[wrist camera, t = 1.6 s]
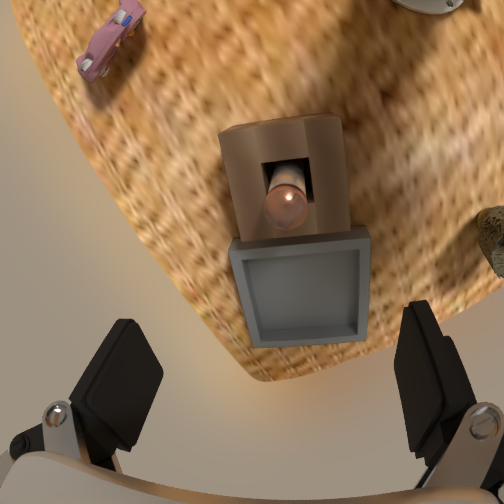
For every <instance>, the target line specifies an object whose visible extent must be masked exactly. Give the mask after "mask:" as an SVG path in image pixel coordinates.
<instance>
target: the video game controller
mask: <svg viewBox="0 0 504 504" xmlns="http://www.w3.org/2000/svg"><path fill="white" fill-rule="evenodd" d="M119 3H120V7H119V8H118V9H117V11H116V12H115V13H114V14H113V15H112V16H111V17H110V18H109V19H108V21H107V22H106V23H105V24H104V25H103V26H102V27H101V28H100V29H98V30H97V31H96V32H95V33H94V35H93V36H92V38H91V40H90V42H89V46H88V49H87V51H86V52H85V54H84V55H81V56H79V57H78V58H77V61H76V63H77V67H78V72H79V74H80V75H81V76H82V77H84V78H85V80H87V81H89V82H91V83H93V82H94V81H95V80H96V78H98V77H99V76H100V75H102V74H103V76H102V77H104V76H105V75H107V73H108V72H109V68H110V67H109V68H108V69H107V70H106V68H107V63H108V62H109V61H110V60H111V58H112V57H113V56H114V54H115V53H116V51H117V50H118V48H119V47H118V46H116V43H117V42H118V41H119V39H120V38H121V39H122V40H125V39H126V38H127V37H128V36H132V35H133V34H134V32H135V31H134V28H135V27H136V26H137V25H138V24H139V22H140V21H141V18H142V17H143V16H144V14H145V13H146V11H145V10H144V9H143V7H142V6H141V4H140V3H139V2H138V1H137V0H119Z"/></svg>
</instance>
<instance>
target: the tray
mask: <svg viewBox="0 0 504 504" xmlns="http://www.w3.org/2000/svg"><path fill="white" fill-rule="evenodd" d="M228 253H229V257H230V261H231V265H232V269H233V272H234V276H235V280H236V284H237V288H238V292H239V296H240V299H241V303H242V307H243V311H244V315H245V318H246V322H247V326H248V330H249V333H250V337H251V341H252V344H253V348H270V347H292V346H309V345H323V344H335V343H346V342H356V341H365V340H366V336H367V324H368V310H369V292H370V264H371V237H370V235H369V232H368V230H367V228H366V226H365V225H362V226H351V231H343V232H333V233H322V234H312V235H302V236H292V237H281V238H271V239H262V240H252V241H241V238H233V240H232V243H231V245H230V248H229V250H228Z"/></svg>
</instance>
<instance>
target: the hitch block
mask: <svg viewBox="0 0 504 504" xmlns="http://www.w3.org/2000/svg"><path fill="white" fill-rule="evenodd" d="M218 137H219V142H220V146H221V151H222V155H223V160H224V165H225V169H226V174H227V178H228V183H229V187H230V192H231V196H232V201H233V205H234V210H235V214H236V219H237V223H238V228H239V232H240V237H241V241H252V240H262V239H271V238H281V237H292V236H302V235H312V234H322V233H333V232H343V231H351V225H350V206H349V191H348V178H347V167H346V156H345V147H344V138H343V129H342V122H341V117H339V116H337V115H335V114H334V113H322V114H312V115H303V116H295V117H287V118H279V119H272V120H265V121H259V122H253V123H247V124H241V125H236V126H232V127H230V128H228V129H226V130H225V131H223V132H221V133H220V134H218ZM305 157H308V159H309V166H310V174H311V182H308V183H305V189H306V198H307V204H308V213H307V217H306V219H305V221H304V222H303V223H302V224H301V225H300V226H298V227H296V228H294V229H290V230H282V229H278V228H276V227H274V226H273V225H271V224H270V223H269V222H268V221H267V219H266V217H265V215H264V203H265V199H266V196H267V194H268V191H269V187H270V184H271V180H272V175H271V170H270V164H269V162H273V161H280V160H288V159H297V158H305Z"/></svg>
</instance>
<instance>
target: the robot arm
mask: <svg viewBox="0 0 504 504" xmlns="http://www.w3.org/2000/svg"><path fill="white" fill-rule="evenodd" d="M392 1H394V2H395V3H397V4H399V5H401V6H403V7H405V8H407V9H410V10H413V11H415V12H419V13H424V14H432V15H438V14H445V13H447V12H450V11H453V10H454V9H456V8H458V7H459V6H460V5H461V4H462V3H463V1H464V0H392ZM394 370H395V375H396V380H397V384H398V389H399V393H400V398H401V403H402V408H403V414H404V419H405V425H406V431H407V437H408V443H409V449H410V452H415V456H416V459H418V458H422V457H424V459H425V465H426V466H428V467H427V469H426V470H425V471H424V473H423V475H422V476H421V478H420V479H419V481H418V482H417V484H416V485H415V486H414V488H413V489H412V490H405V491H398V492H391V493H385V494H378V495H370V496H362V497H351V498H339V499H323V500H268V499H267V500H266V499H251V498H239V497H230V496H221V495H214V494H207V493H201V492H194V491H189V490H184V489H179V488H174V487H169V486H165V485H161V484H156V483H152V482H148V481H145V480H140V479H137V478H134V477H130V476H127V475H124V474H123V473H122V470H121V467H120V465H119V462H118V459H117V456H116V453H115V450H116V448H118V449H120V450H124V451H127V452H130V451H131V448H132V446H134V445H135V444H136V443H137V440H138V438H139V435H140V432H141V430H142V427H143V425H144V422H145V420H146V417H147V415H148V412H149V410H150V408H151V405H152V403H153V400H154V398H155V395H156V393H157V390H158V388H159V385H160V383H161V381H162V378H163V369H162V367H161V365H160V363H159V361H158V360H157V358H156V356H155V354H154V353H153V351H152V349H151V347H150V345H149V343H148V341H147V339H146V338H145V336H144V334H143V332H142V330H141V328H140V326H139V325H138V323H136V322H135V321H134V320H133V319H118V320H117V321H116V322H115V324H114V325H113V327H112V328H111V330H110V331H109V333H108V334H107V336H106V338H105V339H104V341H103V342H102V344H101V346H100V347H99V349H98V350H97V352H96V353H95V355H94V357H93V358H92V360H91V361H90V363H89V365H88V366H87V368H86V370H85V371H84V373H83V375H82V376H81V378H80V380H79V381H78V383H77V385H76V386H75V388H74V390H73V392H72V393H71V395H70V397H69V400H70V401H71V402H72V403H71V405H69V404H68V403H67V402H65V401H56V402H54V403H52V404H51V405H49V406H48V407H47V409H46V410H45V411H44V414H43V416H42V423H41V424H39V425H37V426H35V427H33V428H31V429H28V430H26V431H24V432H22V433H20V434H18V435H17V436H16V437H14V439H13V440H12V442H11V444H10V452H9V451H8V450H7V451H5V452H4V453H3V454H2V455H1V456H0V504H504V414H503V412H502V411H501V410H500V408H499V407H498V406H496V405H494V404H492V403H488V402H481V403H477V401H476V399H475V395H474V393H473V390H472V387H471V384H470V382H469V379H468V377H467V374H466V371H465V369H464V366H463V364H462V361H461V359H460V356H459V354H458V352H457V349H456V347H455V345H454V342H453V341H452V339H451V337H450V336H443V334H442V332H441V330H440V327H439V325H438V323H437V321H436V318H435V316H434V314H433V312H432V310H431V308H430V306H429V303H428V302H427V300H420V301H413V302H410V303H409V305H408V307H404V310H403V316H402V322H401V328H400V333H399V339H398V344H397V349H396V354H395V359H394Z"/></svg>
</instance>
